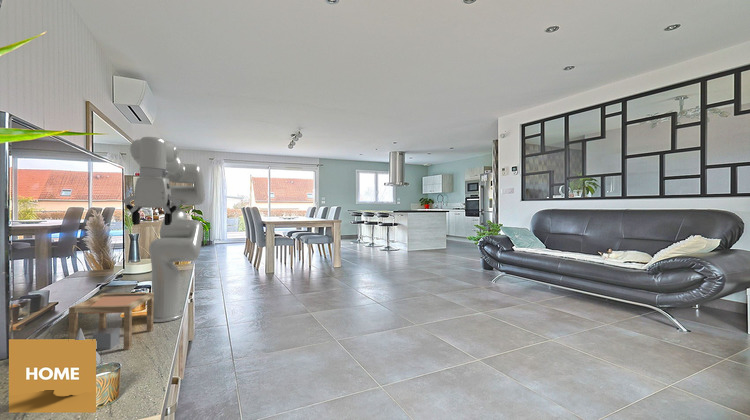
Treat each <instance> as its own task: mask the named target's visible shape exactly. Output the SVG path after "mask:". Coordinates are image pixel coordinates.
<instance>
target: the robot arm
mask: <svg viewBox="0 0 750 420" xmlns="http://www.w3.org/2000/svg"><path fill="white" fill-rule="evenodd" d="M129 151H130V154H131V157H132V159H133V160H134V161H135V162H136V163H137V165H139V172H138V173H139V176H138V177H137V178H136V182H135V186H134V193H133V195H130V196H128V197H126V198H124V199H123V200H122V202H123V204H124V205H125V208H127V209H128V210H129V211H130V212H129V213H131V222H132V225H133V226H136V225H140V224H141V223H140V222H141V213H140V212H139V211H140V210H141V209H142V208H146V209H148V208H152V209H153V208H156V209H161V208H162V211H163V214H164V215H163V219H162V222H161V225H160V230H159V238H156V239H154V240H152V242H150V244H149V247H148V248H149V249H148V251H149V256H150V257H149V258H150V263H151V293H154V309H153V323H165V322H171V321H175V320H179V319H181V318H182V317H183V316H184V314H185V312H184V311H183V310H180V305H181V301H180V296H181V293H180V291H181V290H180V287H181V286H180V283H181V273H180V270H179V268H178V266H177V265H176V264H175V263H176V262H177V263H178V262H194V261H197V260H198V258H199V256H200V255H201V249H202V241H203V237H204V229H203V228H204V226H203V224H202V222H201V221H199V220H197V219H188V218H187V217H188V215H187V213H186V211H184V210H183V209H182V207H180V206H182V205H183V206H185V205H187V206H200V205H202V204H204V203H205V186H204V176H203V171H202V168H201V166H200V165H198V164H195V163H182V161H181V160H180V158H179V149H178V147H177V145H176V144H175V143H173V141H167V140H165V139H163V138H161V137H156V136H143V137H141V138H140V139H135V140H133V141H131V144H130V148H129ZM170 183H175V184H193V185H170ZM132 201H133V204H134V206H133V205H132V203H131V202H132Z"/></svg>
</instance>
